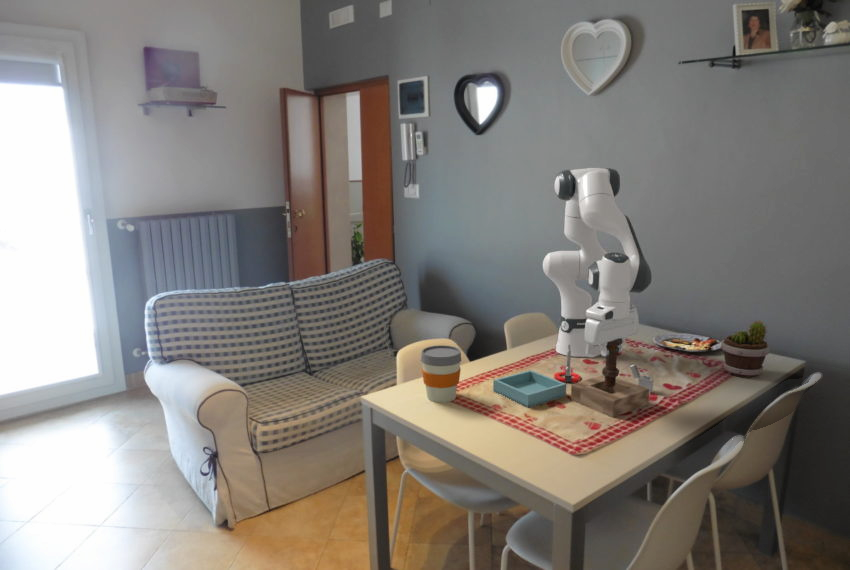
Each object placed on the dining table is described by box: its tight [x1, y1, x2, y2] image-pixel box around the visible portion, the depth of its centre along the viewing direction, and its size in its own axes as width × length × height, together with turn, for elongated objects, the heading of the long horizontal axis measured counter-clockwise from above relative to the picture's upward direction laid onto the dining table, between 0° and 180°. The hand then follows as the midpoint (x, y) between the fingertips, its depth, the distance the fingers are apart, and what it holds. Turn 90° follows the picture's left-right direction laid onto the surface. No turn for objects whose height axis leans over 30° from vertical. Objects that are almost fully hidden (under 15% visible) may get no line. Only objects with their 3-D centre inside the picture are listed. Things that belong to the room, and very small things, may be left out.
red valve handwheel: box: [553, 345, 581, 384], centre depth 204 cm, size 8×13×9 cm
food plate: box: [652, 332, 722, 353], centre depth 238 cm, size 25×23×4 cm
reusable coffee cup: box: [420, 344, 462, 403], centre depth 189 cm, size 13×12×15 cm
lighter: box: [629, 363, 654, 394], centre depth 193 cm, size 7×2×8 cm, turn 48°
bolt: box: [601, 339, 622, 387], centre depth 182 cm, size 6×5×15 cm
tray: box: [492, 369, 567, 409], centre depth 191 cm, size 16×16×4 cm
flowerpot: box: [720, 318, 771, 379], centre depth 205 cm, size 14×15×20 cm
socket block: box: [570, 374, 650, 418], centre depth 184 cm, size 16×16×5 cm
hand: (611, 353), depth 181 cm, fingers closed on bolt, 5 cm apart
